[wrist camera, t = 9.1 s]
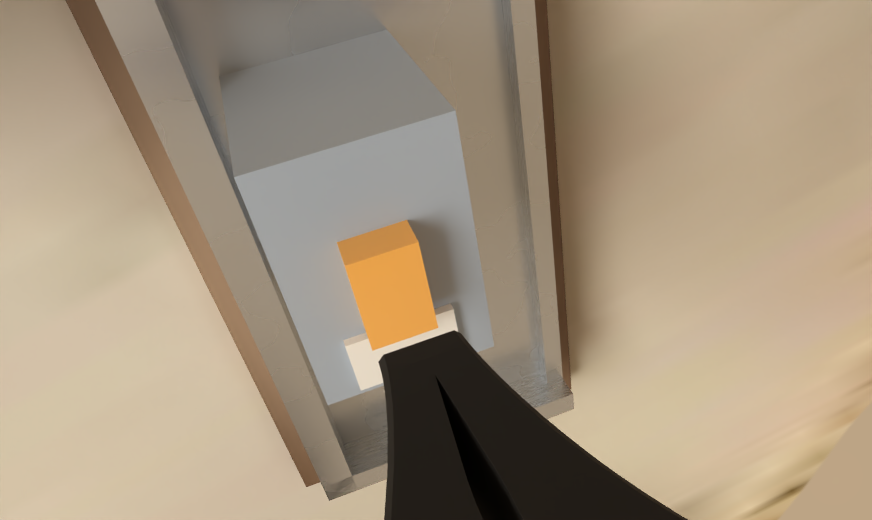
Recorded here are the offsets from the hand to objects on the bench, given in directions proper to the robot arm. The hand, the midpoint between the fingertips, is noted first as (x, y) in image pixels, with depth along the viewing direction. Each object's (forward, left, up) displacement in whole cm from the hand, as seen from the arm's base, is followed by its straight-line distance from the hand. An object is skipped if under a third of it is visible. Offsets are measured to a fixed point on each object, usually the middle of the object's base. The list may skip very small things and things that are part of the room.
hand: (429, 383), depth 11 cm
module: (0, 0, -8) cm, 8 cm away
